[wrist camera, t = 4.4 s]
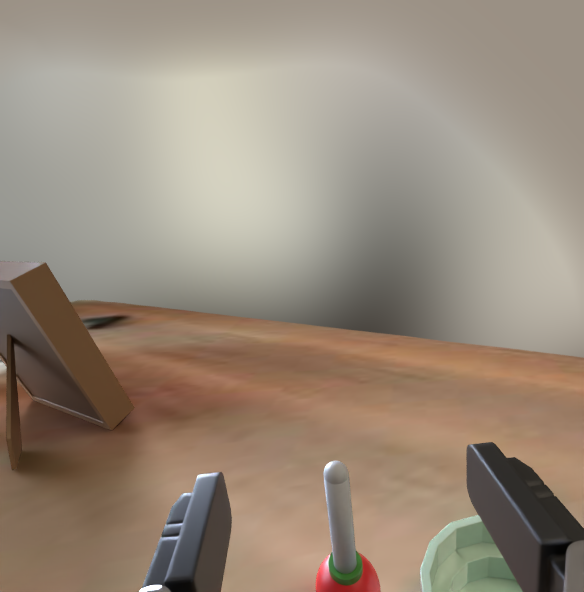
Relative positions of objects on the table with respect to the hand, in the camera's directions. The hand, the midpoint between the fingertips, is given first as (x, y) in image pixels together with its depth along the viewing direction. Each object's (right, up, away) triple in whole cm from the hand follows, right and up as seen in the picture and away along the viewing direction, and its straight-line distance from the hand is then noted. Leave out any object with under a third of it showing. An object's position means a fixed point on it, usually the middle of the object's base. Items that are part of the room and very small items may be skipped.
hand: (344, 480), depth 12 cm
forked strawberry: (+3, -18, +16) cm, 24 cm away
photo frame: (-38, -14, +45) cm, 60 cm away
